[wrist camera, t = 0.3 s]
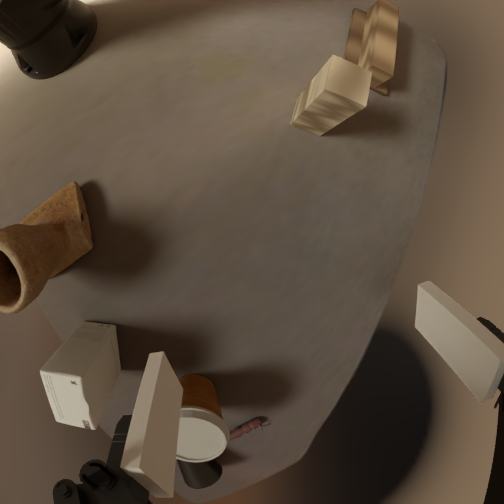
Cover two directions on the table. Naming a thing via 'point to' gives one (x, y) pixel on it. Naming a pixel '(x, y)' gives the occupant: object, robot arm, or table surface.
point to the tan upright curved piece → (42, 247)
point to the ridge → (374, 42)
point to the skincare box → (82, 374)
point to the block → (332, 96)
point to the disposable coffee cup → (200, 421)
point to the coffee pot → (211, 462)
